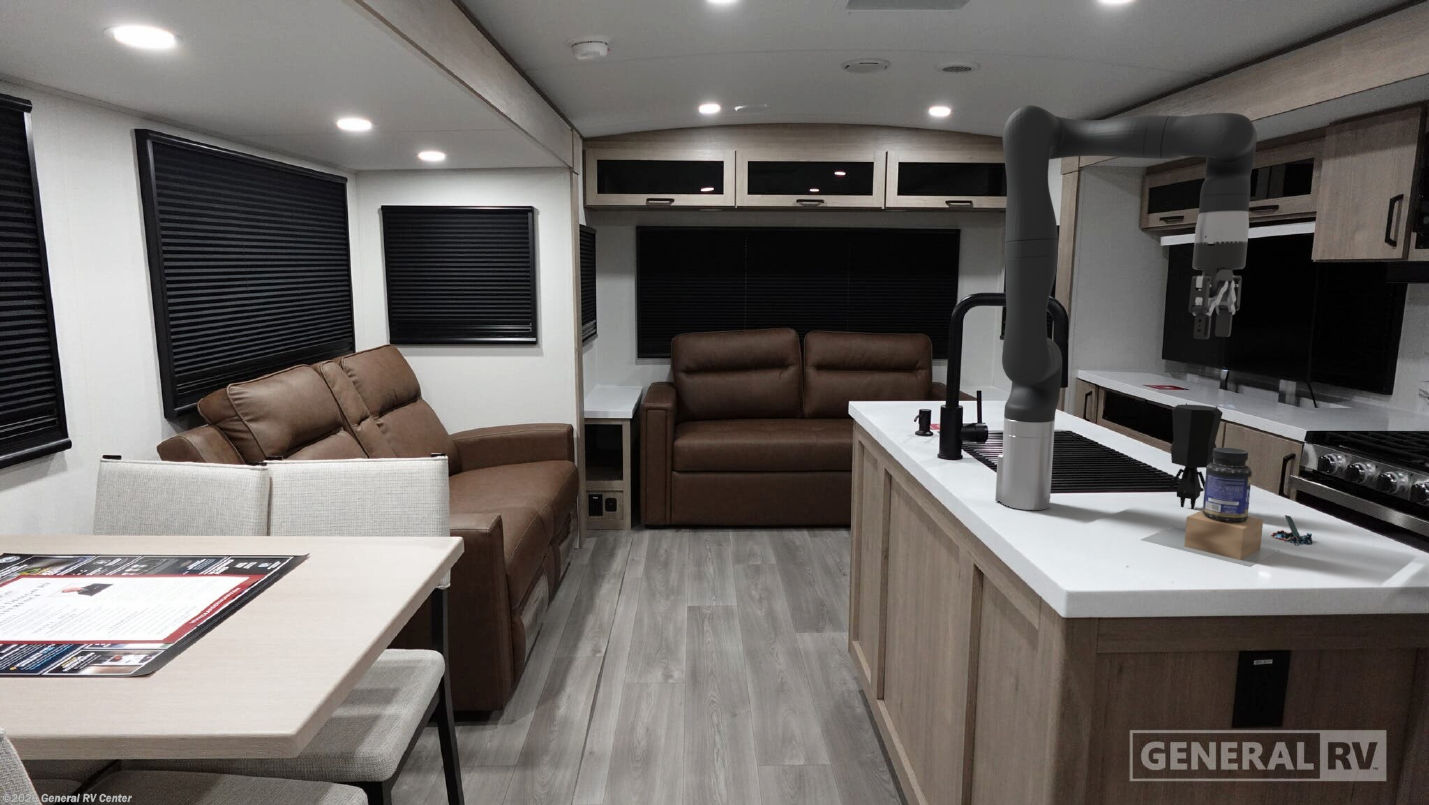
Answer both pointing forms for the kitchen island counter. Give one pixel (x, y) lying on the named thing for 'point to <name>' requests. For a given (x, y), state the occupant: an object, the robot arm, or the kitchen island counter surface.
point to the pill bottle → (1227, 486)
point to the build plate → (1176, 540)
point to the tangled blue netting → (1293, 534)
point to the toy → (1193, 446)
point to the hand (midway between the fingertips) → (1212, 337)
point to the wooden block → (1223, 536)
